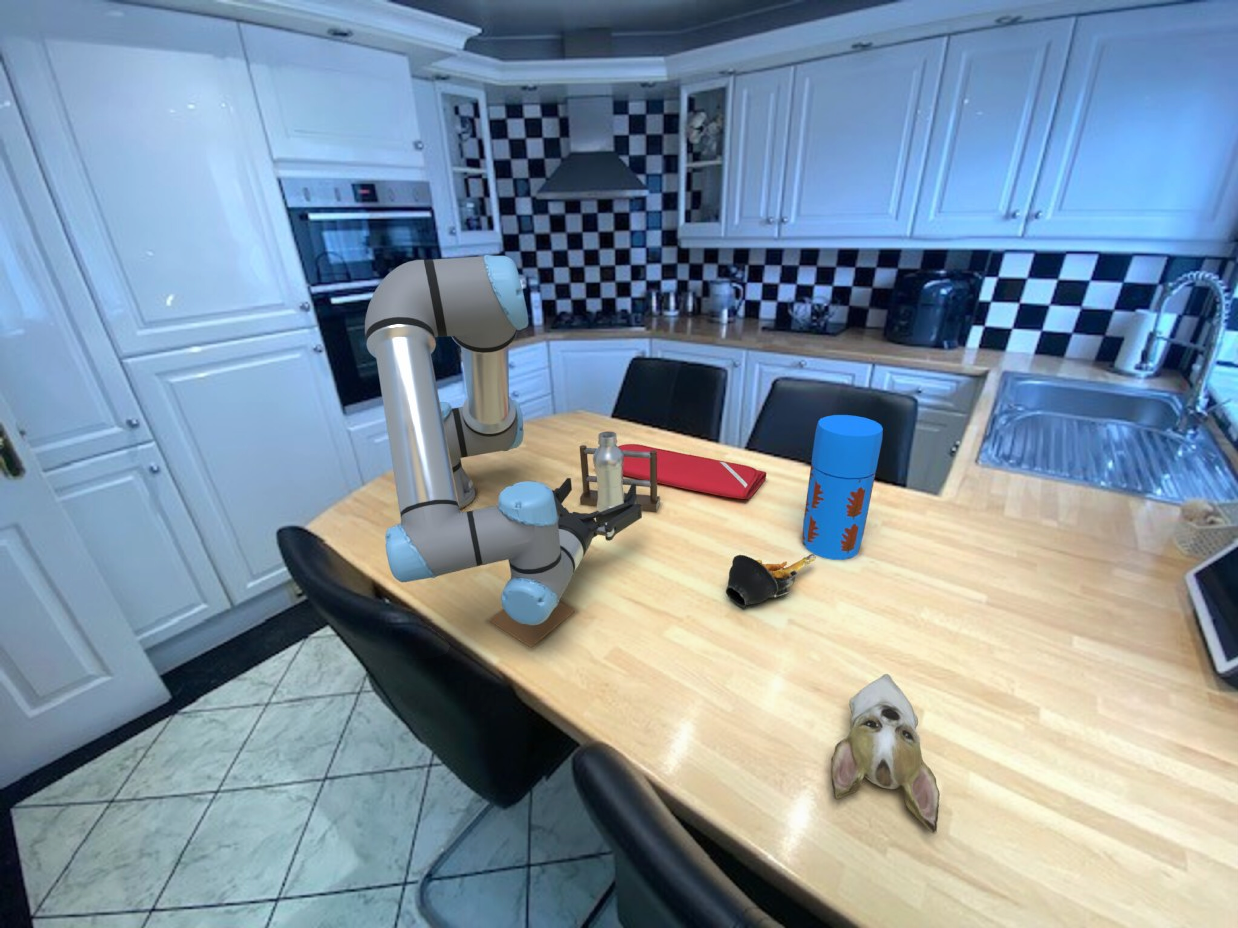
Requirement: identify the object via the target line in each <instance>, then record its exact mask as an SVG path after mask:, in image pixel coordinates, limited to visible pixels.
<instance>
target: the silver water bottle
mask: <svg viewBox="0 0 1238 928" xmlns="http://www.w3.org/2000/svg"><path fill="white" fill-rule="evenodd" d="M597 437H598V438H597V439H598V440H597V444H598V445H599V446H598V447H597V450H596V451H595V453H594V454H592V463H593V468H594V472H595V476H596V477H597V482H596V483H597V490H598V500H597V506H596V511H599V512H602V511H604V510H607V509H610V508H612V507H615V506H618V505H620V504H623V503H624V498H625V497H624V493H625V491H624V485H623V479H624V475H623V468H624V455H623V453H622V451H621V450H620V449H619V447H618V446H619V445H617V444H618V439H617V438H618V436H617V433H616V432H615V431H602V432H600V433H598V436H597Z"/></svg>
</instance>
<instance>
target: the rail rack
mask: <svg viewBox="0 0 1238 928" xmlns="http://www.w3.org/2000/svg"><path fill="white" fill-rule="evenodd" d="M597 448H598V447H597ZM597 448H596V447H587V445H586V444H581V445H580V446H579V458H580V470H581V482H582V494H581V495H580V496H579V501H580V504H579V505H581V506H591V507H597V500H598V489H591V487H590V486H591V485H590V483H597V477H596V475H590V473H589V472H590V471H589V459H588V455H594V453H595V451H596V450H597ZM621 451H622V453H623V455H624V457H634V458H647V459H650V481H647V480H643V479H635V478H634V479H633V478H623V486H631V485H632V484H636V487H643V488H649V494H641V493H640V494H638V493H636V496H637V504H641V505H642V512H647V513H657V512H658V510H659V507H660V505H661V496H660V495H658V483H657V451H655V450H651V451H650V452H639V451H626V450H621ZM627 493H628V492H624V497H625V496H626V494H627Z"/></svg>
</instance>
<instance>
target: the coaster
mask: <svg viewBox="0 0 1238 928" xmlns="http://www.w3.org/2000/svg"><path fill="white" fill-rule="evenodd" d="M575 612H576V609H574V608H572V607H570V606H569V605H567V604H565V603H563V602H561V601H560V600H559V602H558V605H557V607H555V608H554V609H553V611H552V612H551V614H550V615H549V617H548V618H547V619H546V620H545V621H544V622H543V623H541V624H538V625H527V624H521V623H519V622H517V621H515V620H514V619H512V618H511V617H510V616H509V615H508V614H507V613H506V612H505V610H504V608H503V609H501V610H500V611H499V612H498V613H497V614H495V615H494V616H492V617H490V618H489V622H490V623H491V624H493V625H494V626H496V627H498V628H499V629H501V630H502V631H504V632H506V634H508V635H510V636H512V637H514V638H515V639H516V640H518V641H520V642H521V643H523V644H524V645H526V646H528V647H529V648H533V647H534V646H535V645H537V644H538V643H539V642H540V641H541V640H543V639H544V638H545V637H546V636H547V635H549V634H550V633H551V632H552V631H553V630H554V629H556V628H557V627H558V626H559V625H560V624H561V623H563V622H564V621H566V619H568V618H569V617H570V616H571V615H572V614H574V613H575Z"/></svg>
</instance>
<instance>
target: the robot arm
mask: <svg viewBox="0 0 1238 928" xmlns="http://www.w3.org/2000/svg"><path fill="white" fill-rule="evenodd" d="M528 326H529V315H528V309H527V305H526V300H525V295H524V291H523V286H522V282H521V279H520V275H519V270H518V268H517V266H516V263H515V261H514V260H513V259H512V258H510V257H509V256H506V255H490V254H485V255H483V256H467V257H451V258H436V259H435V258H434V259H416V260H415V259H414V260H410V261H407V262H405V263H402V264H400V265H399V266H397V267H395V268H394V269H393V270H391V271H390V272H389V273H388V274H387V275H386V276H385V277H384V278H383V279H382V280H381V281H380V283H379V284H378V286H377V287H376V289H375V291H374V292H373V294H372V296H371V299H370V301H369V304H368V307H367V311H366V313H365V320H364V335H365V343H366V348H367V351H368V352H369V354H370V355H371V356H372V357H374V358H375V360H376V363H377V365H376V366H377V372H378V378H379V384H380V392H381V397H382V404H383V411H384V417H385V423H386V430H387V437H388V444H389V450H390V456H391V464H392V471H393V476H394V482H395V491H396V495H397V496H396V497H397V502H398V509H399V510H398V511H399V514H400V523H397V524H396V525H394V526H391V527H389V528H388V529H387V530H386V532H385V538H384V539H385V551H386V558H387V561H388V565H389V569H390V572H391V575H392V576H393V577H394V579H396V580H397V581H398V582H400V583H409V582H413V581H420V580H427V579H431V578H432V579H435V578H437V577H439V576H440V577H441V576H445V575H448V574H452V573H457V572H459V571H464V570H468V569H472V568H475V567H476V568H477V567H481V566H485V565H490V564H494V563H499V562H503V561H506V560H508V565H509V570H510V571H509V572H510V579H509V580H508V581H507V582H506V583H505V586H504V589H503V590H502V592H501V596H500V602H501V606H502V608H503V609H504V610H505V612H506V613H507V614H508V615H509V616H510V617H511V618H512V619H514V620H515V621H517V622H519V623H521V624H527V625H538V624H541V623H543V622H544V621H545V620H546V619H547V618H548V617H549V615H550V614H551V612H552V611H553V609H554V608H555V607H557V605H558V602H559V601H560V600H561V598H562V596H563V594H564V593H565V591H566V589H567V587H568V585H569V583H570V581H571V580H572V577H573V576H574V574H575V573H576V570H577V569H578V567H579V565H580V563H581V562H582V560H583V558H584V557H585V556H586V553H587V551H588V549H589V548H590V546H591V544H592V542H593V539H595V538H596V537H597V536H603V537H605V541H607V542H610V541H612V540H613V539H614V537H616V535H617V534H619V533H621V532H622V531H624V530H625V529H626V528H628V527H630V526H631V525H633V524H634V523H636V522H638V521H639V520H640V519H642V517H643V511H642V505H641V504H637V496H636V494H637V486H636V484H632V485H630V487H629V489H628V491H627V492H626V493H627V494H626V496H625V498H624V503H623V504H620V505H618V506H615V507H612V508H610V509H607V510H604V511H602V512H599V511H597V510H594V511H593V512H590V513H587V512H578V511H573V512H570V511H569V510H568V508H567V507H565V506H564V505H563V502H565V500H566V499H567V497H568V496H569V495H570V494H571V492H572V491H573V487H572V478H571V477H566V478H565V480H564V481H563V482H562V484H561V485H560V486H559V487H556V488H554V489H551V488H550V487H549V486H548V485H547V484H544V483H542V482H540V481H532V480H528V481H518V482H516V483H514V484H513V485H508V486H506V487H504V489H503V490H501V491H500V493H499V496H498V501H497V505H493V506H488V507H483V508H477V509H472V510H468V511H462V512H461V510H462V509H464V508H466V507H467V506H469V505H470V504H471V503H472V502H473V501H474V500H475V497H476V490H475V487H474V484H473V483H474V482H473V480H472V479H471V478H470V477H469V476H468V474H467V472H466V470H465V468H463V467H464V466H463V463H462V459H463V458H468V457H474V456H481V455H485V454H491V453H497V452H508V451H510V450H513V449H517V448H519V447H520V446H521V445H522V443H523V441H524V433H525V432H524V431H525V430H524V417H523V412H522V409H521V406H520V404H519V402H518V401H517V400H515V399H513V398H512V397H510V359H509V358H510V357H509V356H510V353H509V352H510V351H509V350H510V349H509V347H510V346H511V345H512V343H514V341H515V340H516V337H517V334H518V331H522V330H523V329H526V328H528ZM444 337H451V338H452V340H453V341H454V342H455V343H456V344H457V345H458V346H459V347H460V350H461V351H460V352H461V358H462V366H463V373H464V379H465V380H464V381H465V388H466V395H467V398H466V399H465V400H464V402H463V405H462V406H458V407H453V408H452V406H451V403H449V402H447V401H440V395H439V391H438V387H437V381H436V374H435V368H434V364H433V360H432V359H433V358H432V354H433V352H434V351H435V349H436V346H437V343H436V338H444Z"/></svg>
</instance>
